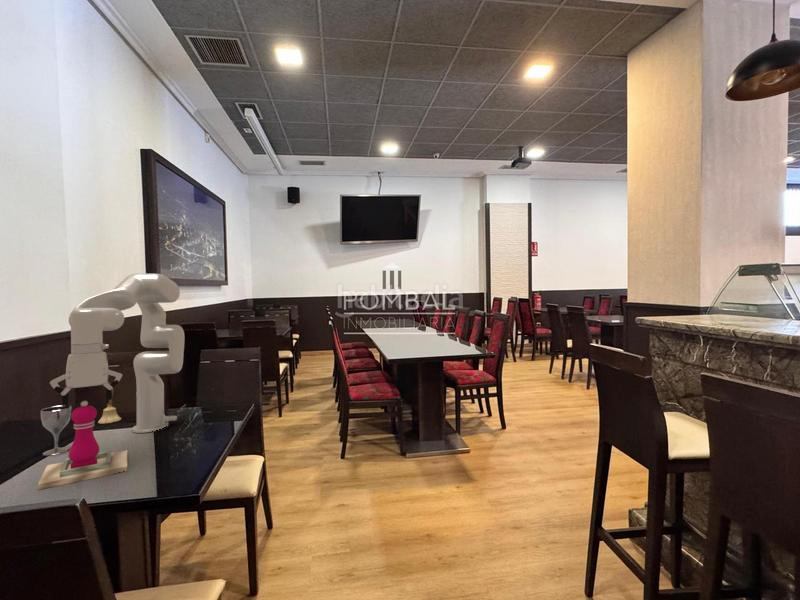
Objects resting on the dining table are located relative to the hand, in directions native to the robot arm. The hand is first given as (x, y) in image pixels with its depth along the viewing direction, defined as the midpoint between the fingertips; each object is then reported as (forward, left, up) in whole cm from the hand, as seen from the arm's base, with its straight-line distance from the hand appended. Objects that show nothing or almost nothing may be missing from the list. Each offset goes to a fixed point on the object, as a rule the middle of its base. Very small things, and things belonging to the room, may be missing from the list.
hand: (88, 404), depth 119 cm
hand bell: (-4, -61, -20) cm, 64 cm away
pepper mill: (+1, +1, -19) cm, 19 cm away
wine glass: (+10, -27, -20) cm, 35 cm away
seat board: (0, 0, -20) cm, 20 cm away
